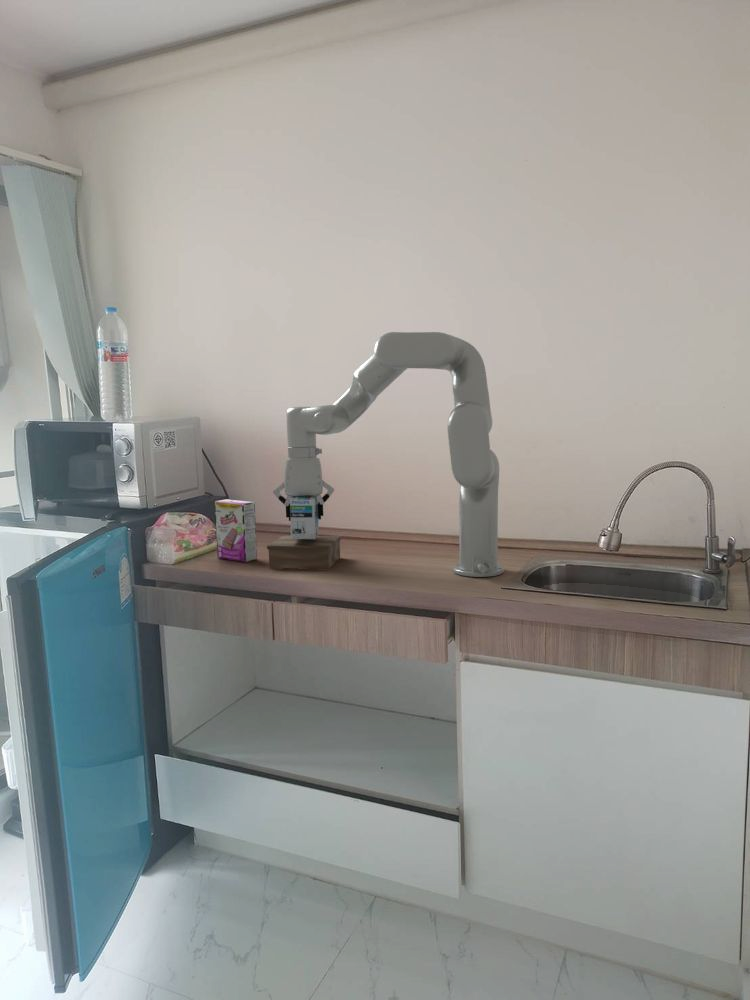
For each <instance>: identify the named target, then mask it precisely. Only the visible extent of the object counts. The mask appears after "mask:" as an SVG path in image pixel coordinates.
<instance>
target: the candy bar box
mask: <svg viewBox="0 0 750 1000" xmlns="http://www.w3.org/2000/svg"><path fill="white" fill-rule="evenodd" d="M255 504H256V502H254V501H248V500H247V501H246V500H237V499H228V498H226V499H225V498H224V499H220V500H215V501H214V514H215V531H216V532H215V533H216V548H217V549H216V550H217V551H216V552H217V559H224V560H228V561H234V560H235V561H236V562H242V563H248V562H249V563H250V562H253V561H255V560H257V559H258V551H257V549H258V547H257V527H256V526H257V524H256V505H255Z"/></svg>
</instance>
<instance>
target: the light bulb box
mask: <svg viewBox="0 0 750 1000" xmlns="http://www.w3.org/2000/svg"><path fill="white" fill-rule="evenodd" d="M290 511H291V521H290V535H291V539H316V537H317V536H319V533H320V529H319V528H320V527H319V525H320V524H319V519H318V500H317V498H316V496H297V497H293V498H291V499H290Z"/></svg>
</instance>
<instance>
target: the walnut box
mask: <svg viewBox="0 0 750 1000" xmlns="http://www.w3.org/2000/svg"><path fill="white" fill-rule="evenodd" d="M341 540H342V536H341V535H317V537H316V539H291V534H290V535H286V534H284V535H282V536H279V538H277V539H275V540H274V541H273V542H271V543H269V544H268V545H266V546H267V547H266V550H268V566H269V567H268V568H269V569H271V568H272V569H273V570H276V569H277V570H278V569H279V570H280V569H281V570H283V568H303V569H302V570H316V569H329V568H330V567H331V566H332V565H333V564H334V563H335V562H336V561H337V560H338V559H339V558H340V559H341ZM340 559H339V560H340ZM339 560H338V561H339ZM338 561H337V562H338ZM337 562H336V563H337ZM336 563H335V564H336ZM335 564H334V565H335ZM334 565H333V566H334ZM333 566H332V567H333ZM332 567H331V568H332ZM304 568H306V569H304ZM331 568H330V569H331ZM330 569H329V570H330Z"/></svg>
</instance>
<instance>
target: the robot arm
mask: <svg viewBox="0 0 750 1000" xmlns="http://www.w3.org/2000/svg"><path fill="white" fill-rule="evenodd" d="M408 369H427V370H428V369H429V370H430V369H433V370H444V371H445V370H446V371H448V372H449V373H450V375H451V378H452V393H453V401H454V402H453V403H454V408H453V409H452V411H451V412H450V414H449V415H448V419H447V438H448V445H449V446H448V447H449V448H448V449H449V455H450V466H451V470H452V475H453V478H454V479H455V481H456V482H457V484H458V485H459V502H458V503H459V506H458V507H459V511H458V515H459V518H458V519H459V520H458V521H459V525H458V526H459V529H458V530H459V532H458V533H459V537H458V538H459V540H458V541H459V543H458V544H459V548H458V549H459V550H458V551H459V555H458V556H459V557H458V558H459V559H458V560H459V563H457V564H455V565H453V569H452V570H453V572H454V573H455V574H457V575H459V576H464V577H470V578H487V577H488V578H489V577H496V576H499V575H502V574H503V573H504V572H505V569H504V566H503V565H502V564H499V561H498V560H499V559H498V553H499V552H498V550H499V549H498V547H499V546H498V544H499V542H498V541H499V539H498V538H499V537H498V536H499V533H498V532H499V530H498V527H499V523H498V521H499V518H498V517H499V482H500V462H499V459H498V457H497V455H496V453H495V452H494V451H493V450H492V449H491V445H490V435H489V433H490V432H491V430H492V428H493V417H492V410H491V402H490V393H489V387H488V379H487V372H486V366H485V363H484V359H483V358H482V355H481V353H480V352H479V351H478V350H477V348H476V347H475V346H474V345H473V344H471V343H469V342H468V341H466V340H465V339H462V338H459V337H456V336H454V335H452V334H448V333H445V332H439V331H438V332H437V331H429V332H428V331H425V332H424V331H419V332H418V331H416V332H415V331H414V332H413V331H411V332H404V331H402V332H401V331H400V332H399V331H398V332H397V331H390V332H387V333H385V334H383V335H381V336H380V337H379V338H378V340H376V343H375V346H374V352H373V353H372V355H370V356H369V357H368V358H367V359H366V361H364V362H363V363H362V364H360V366H359V367H358V368H356V369H355V371H354V372H353V375H352V382H351V385H350V387H348V389H347V390H346V391H345V392H344V394H342V395H341V397H340V398H338V399H337V400H336V401H335V402H333V404H327V405H320V406H319V405H318V406H313V407H311V406H293V407H289V408H288V409H287V410H286V433H287V435H286V437H287V455H288V456H287V458H286V459H285V461H284V469H283V470H284V473H283V474H284V476H283V477H284V478H283V479H284V480H283V482H282V483H280V485H278V486H277V487H276V488H275V489H274V490H273V491H272V493H273V494H274V496H275V497H276V498H277V499H278V501H280V502H281V503H282V504H283V505H284V506H285V518H288V522H289V521H290V522H291V511H290V499H291V498H293V497H297V496H316V498H317V500H318V519H319V520H322V517H324V504H325V503H326V501H328V500H329V498H330V497H331V495H332V494H333V493H334V492H335V488H334V487H333V486H331V485H330V484H329V483H327V482H326V481H324V480H323V472H322V466H321V460H320V458H319V457H317V456H318V455H321V454H322V453H323V449H322V448H319V447H317V435H323V436H327V435H331V434H333V435H334V434H339V433H341V432H344V431H345V430H347V429H348V428H349V427H351V425H352V424H354V423H355V422H356V421H357V420H358V419H359V418H360V417H362V416H363V414H364V413H365V412H366V411H367V410H368V409H369V407H370V406H371V405H372V404H373V403H374V402H375V401H376V399H377V398H378V396H379V395H380V394H381V393H382V392H384V391H385V390H386V389H387V388H388V387H389V386H391V384H392V383H393V382H394V381H396V379H397V378H399V377H400V376H401V375H402V374H403V373H404V372H405V371H406V370H408ZM283 489H284V493H285V495H286V497H284V496H283V495H282V494H281V491H283ZM323 489H326V490H327V491H326V493H325V494H324V495H323V496H321V495H322V493H323Z"/></svg>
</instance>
